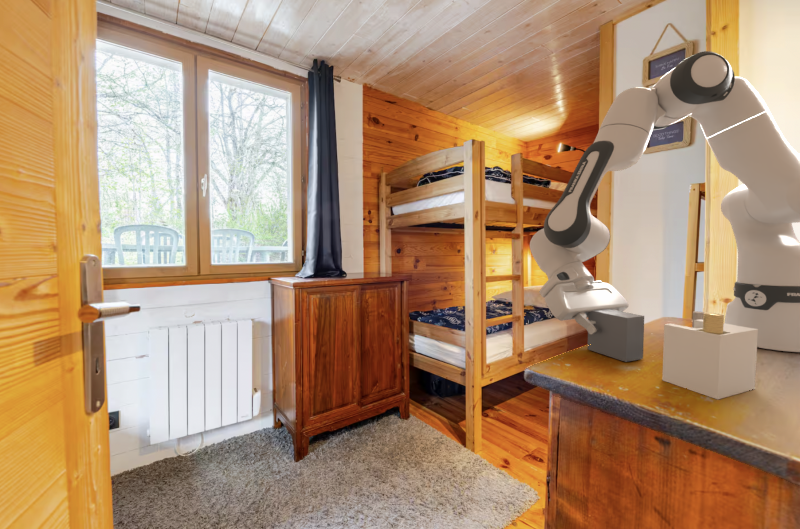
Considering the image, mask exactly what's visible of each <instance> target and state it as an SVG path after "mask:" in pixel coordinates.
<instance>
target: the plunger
mask: <svg viewBox="0 0 800 529" xmlns="http://www.w3.org/2000/svg"><path fill="white" fill-rule="evenodd" d="M724 322H725V315H724V314H720V313H716V312H715V313H714V312H704V314H703V332H707V333H712V334H717V335H721V334H723V324H724Z"/></svg>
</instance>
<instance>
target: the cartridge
mask: <svg viewBox="0 0 800 529" xmlns="http://www.w3.org/2000/svg"><path fill="white" fill-rule="evenodd" d="M587 319H588V320H589V321H590V322H592V323H593V324H595V323H596V325H597V326H598V328H599V329H600V331H599V332H598V333H597V334H589V332H588V331H587V350H589V351H592V352H595V353H597V354H601V355H603V356H607V357H610V358H613V359H616V360H619V361H622V362H625V363H627V362H632V361H637V360H643V359H644V338H645V334H644V333H645V315H643V314H642V315H641V314H637V313H632V312H631V313H630V312H626V311H623V312H621V311H616V310H611V309H603V310H594V311H591V312H588V318H587ZM590 344H591V345H590ZM588 345H589V346H588Z"/></svg>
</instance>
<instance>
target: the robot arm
mask: <svg viewBox="0 0 800 529" xmlns="http://www.w3.org/2000/svg"><path fill="white" fill-rule="evenodd" d="M687 117H691V118H692V119H694V120H695V121H697V122H698V123H699V124H700V128H701V130H702V132H703V135H704V137H705V139H706V141H707V144H708V145H709V147H710V149H711V151H712V153H713V154H714V156H715V158H716V162H718V164H719V166H720V168H722V169H723V170H724V171H727V172H729V173H731V174H732V175H734V176H735V177H736V178H737V179H738V180H739V181H740V182H741V185H739V186H737V187H735V188H734V189H732V190H731V191H729V192H727V193H726V194H725V195H724V197H723V198H722V200H721V204H720V210H721V214H722V215H723V216H724V218H726V219H727V220H728V222H729V224H730V226H731V229H732V232H733V236H734V239H735V243H736V248H737V272H736V273H737V275H736V277H737V279H736V281H735V282H734V285H733V288H732V289H733V296H734V297H735V298H734V299H733V300H731V301H730V302H728V303H727V305H726V310H725V315H724V323H725V324H731V325H736V326H742V327H748V328H754V329H758V337H757V348H760V349H766V350H771V351H772V350H773V351H783V352H792V353H800V241H799V239H798V237H797V236H796V233H795V231H794V228H793V224H795V223H800V153H799V152H797V150H796V149H794V148H793V146H791V145H790V143H789V142H788V141H787V139H786V138H785V136H784V135H783V133H782V131H781V130H780V128H779V126H778V124H777V122H776V121H775V119H774V116H773V115H772V113H771V111H770V109H769V107H768V106H767V103H766V102H765V100H764V99H763V97H762V96H761V95H760V93H759V91H757V90H756V89H755V87H754V86H753V85H752V84H751V83H750V82H749V81H748V79H746V78H743V77H741V76H735V72H734V69H733V68H732V66H731V64H730V62H729V61H728V60H727V59H726V58H725V57H724V56H722V55H721V54H719V53H717V52H715V51H712V50H711V51H709V50H708V51H707V50H705V51H699V52H697V53H694V54H692V55H690V56H688V57H687V58H685V59H683V60H682V61H680V62H679V63H678V64H677V65H676V66H675V67H674V68H672V69H671V70H670V71H668V72H666V73H665V74H664V75H663V76H662V77H660V78H659V79H658V81H657V82H656V83H655V84H654V85H653V86H652V87H651V88H648V87H642V86H641V87H640V86H636V87H629V88H627V89H625V90H623V91H622V92H620V93H619V94H618V95H617V96H616V98H615V99H614V100H613V102H612V103H611V105H610V107H609V109H608V110H607V112H606V114H605V116H604V118H603V120H602V122H601V124H600V126H599V129H598V132H597V134H596V136H595V138H594V141H593V142H592V143H591V144H590V145H589V146H588V147H587V149H585V151H584V152H583V154H582V155H581V157H580V159H579V160H578V163H577V165H576V167H575V169H574V171H573V173H572V175H571V176H570V179H569V180H568V182H567V184H566V187H565V188H564V190H563V192H562V194H561V196H560V198H559V199H558V201H557V202H556V203H555V205H554V206H553V207H551V209H550V211H549V212H548V214H547V215H546V217H545V219H544V222H543V228H541V229H539V230H538V231H537V232H535V233H534V235H532V237H531V239H530V242H529V250H530V253H531V255H532V257H533V259H534V260H535V263H536V264H537V266H538V267H539V269H540V270H541V271H542V272H543V273H545V275H546V276H547V279H548V280H547V281H546V282H545V283H544V284H543V286H541V288H540V290H539V292H538V293H539V295H540V296H541V297H542V298H544V302H545V304H546V306H547V308H548V309H549V312H551V314H552V316H554V318H556V319H557V320H559V321H561V322H562V321H570V320H575V322H576V323H577V324H578V325H580V326H581V327H583V328H584V329H586V331H587V333H588V332H589V334H597V333H598V332H599V331H600V329H599V328H598V326H597V325H596V323H595V324H593V323H592V322H590V321H589V320H588V312H591V311H594V310H603V309H611V310H616V311H621V312H625V310H626V309H628V308H629V301H628V300H627V299H626V298H625V297H624V296H623V295H622V294H621V293H620V292H619V291H618V289H616V287H614V286H613V285H612V284H610V283H608V282H603V281H602V280H598V279H597V280H595V278H594V276H593V275H592V274H591V271H589V270H588V268H587V267H586V266H585V265H584V262H587V261H589V260H591V259H593V258H594V257H596V256H598V255H599V254H601V253H602V252H604V251H605V250H606V249H607V247H609V244H610V241H611V231H610V229H609V228H608V226H607V225H606V224H604V223H603V222H602V221H601V220H599V219H598V218H597V217H595V216H593V214H592V213H591V203H592V201H593V198H594V196H595V194H596V193H597V190H598V188H599V186H600V184H601V182H602V180H603V178H604V176H605V175H606V174H607V172H618V171H620V172H621V171H623V170H626V169H630V168H631V167H632V166H634V165H636V164H637V163H638V162H639V160H640V159H641V157H642V156H643V154H644V153H645V151H646V149H647V147H648V144H649V141H650V138H651V135H652V133H653V131H657V130H663V129H666V128H669V127H671V126H673V125H674V124H676V123H678V122H680V121H681V120H683V119H685V118H687Z"/></svg>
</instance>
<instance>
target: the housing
mask: <svg viewBox="0 0 800 529" xmlns="http://www.w3.org/2000/svg"><path fill="white" fill-rule="evenodd" d="M757 337H758V329H754V328H748V327H742V326H736V325H731V324H725V323H724V324H723V334H721V335H717V334H712V333H707V332H703V320H702V319H699V320H694V328H692V326H691V327H690V326H686V325H682V324H681V325H680V324H676V323H666V324H663V352H662V353H663V356H662V381H663V382H667V383H670V384H672V385H675V386H677V387H680V388H684V389H686V388H687V390H690V391H693V392H695V393H698V394H701V395H705V396H706V397H710V398H713V399H715V400H720V399H724V398H728V397H733V396H735V395H739V394H742V393H745V392H749V390H750V391H752V389H753V390H755V388H756V376H757V374H756V373H757V372H756V371H757V356H758V355H757V354H758V347H757Z"/></svg>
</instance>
